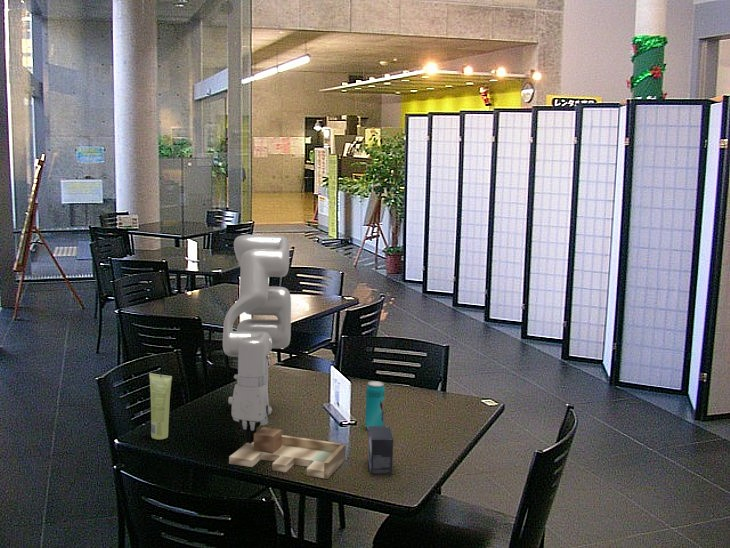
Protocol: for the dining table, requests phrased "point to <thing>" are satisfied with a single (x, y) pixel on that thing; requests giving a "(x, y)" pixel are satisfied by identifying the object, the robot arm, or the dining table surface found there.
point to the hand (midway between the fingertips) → (250, 441)
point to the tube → (160, 405)
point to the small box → (380, 450)
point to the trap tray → (296, 456)
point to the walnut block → (267, 440)
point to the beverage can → (375, 404)
